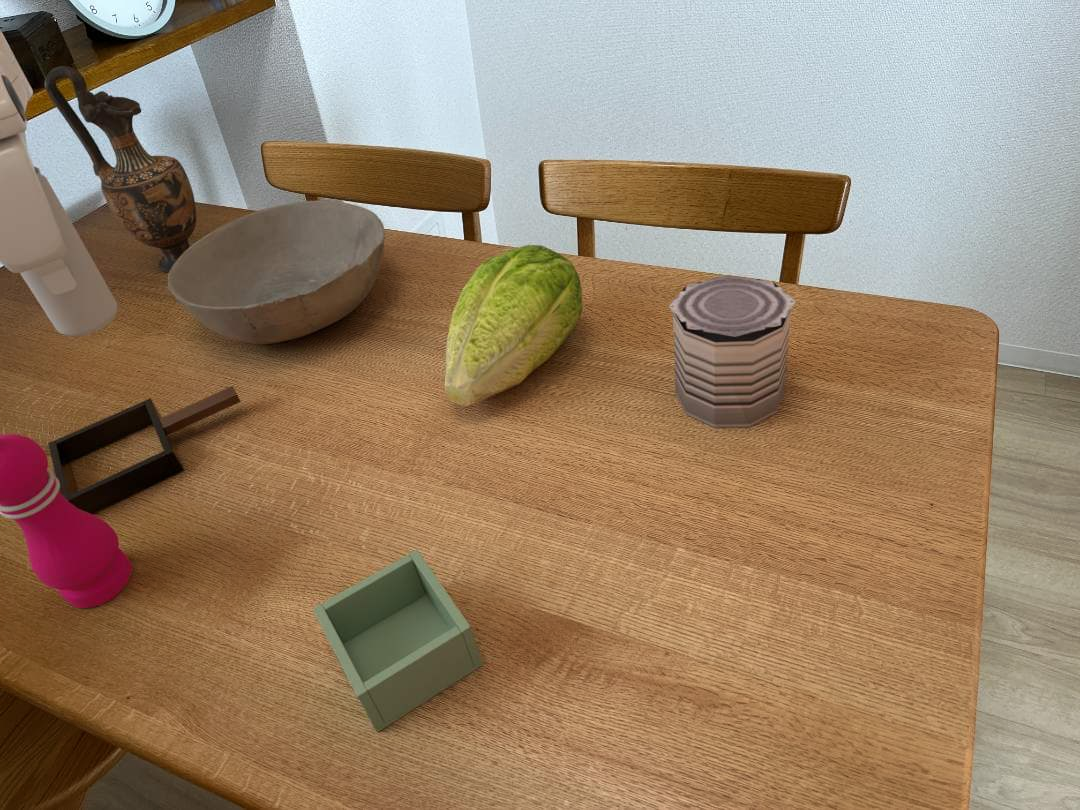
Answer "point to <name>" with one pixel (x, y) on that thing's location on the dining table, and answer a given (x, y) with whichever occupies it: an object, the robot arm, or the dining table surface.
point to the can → (731, 349)
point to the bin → (398, 638)
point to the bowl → (281, 270)
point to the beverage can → (91, 296)
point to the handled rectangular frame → (118, 428)
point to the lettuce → (509, 321)
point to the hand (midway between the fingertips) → (59, 272)
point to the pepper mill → (59, 529)
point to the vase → (131, 170)
